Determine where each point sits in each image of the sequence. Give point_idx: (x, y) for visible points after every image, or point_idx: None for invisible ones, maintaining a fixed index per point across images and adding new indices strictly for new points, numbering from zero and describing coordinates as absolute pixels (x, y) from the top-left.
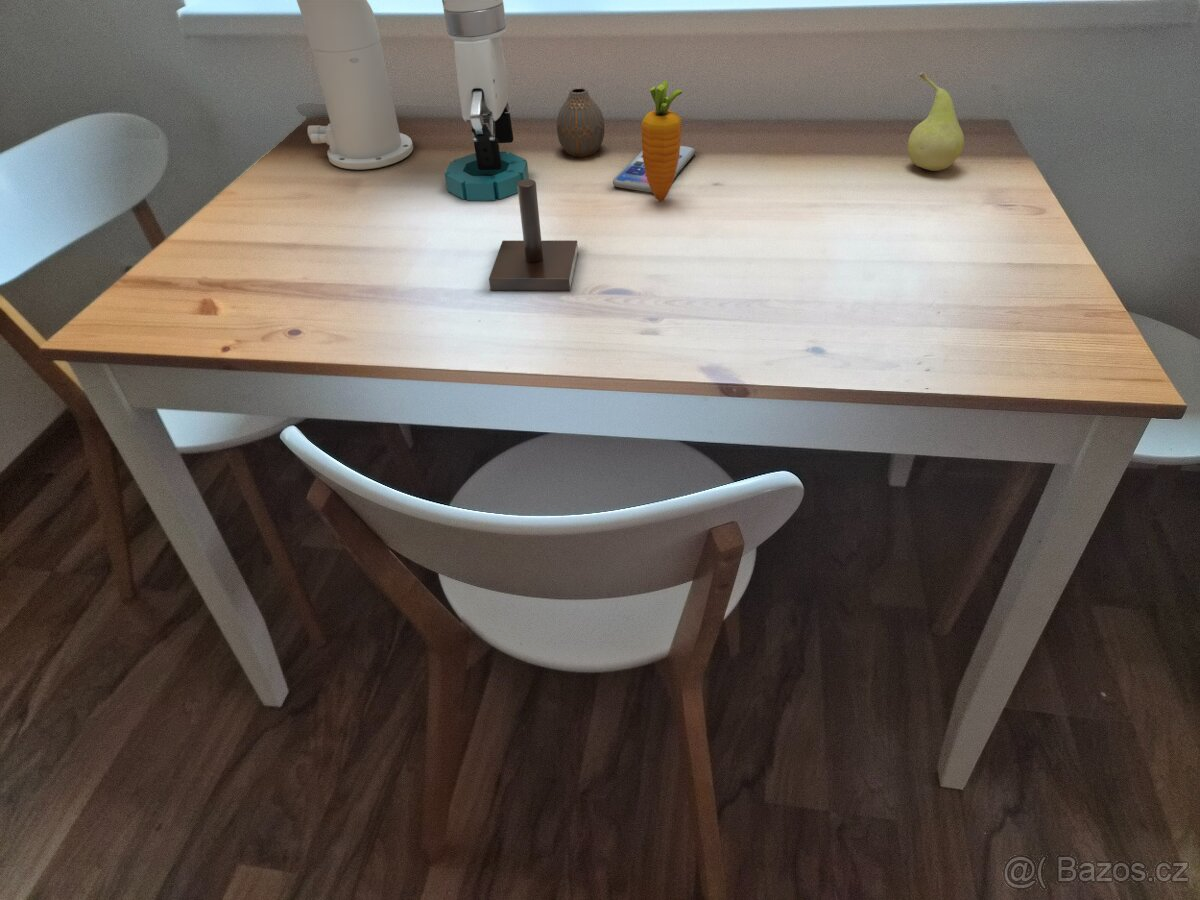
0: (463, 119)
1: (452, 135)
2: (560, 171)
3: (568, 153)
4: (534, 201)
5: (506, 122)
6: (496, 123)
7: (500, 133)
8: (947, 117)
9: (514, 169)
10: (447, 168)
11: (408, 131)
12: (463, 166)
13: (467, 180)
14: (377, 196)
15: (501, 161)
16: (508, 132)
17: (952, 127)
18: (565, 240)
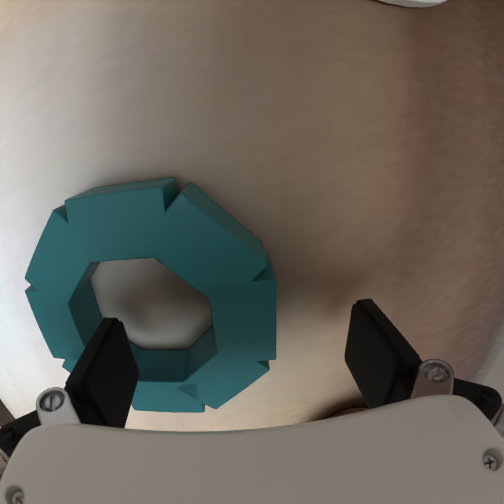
0: (36, 427)
1: (489, 116)
2: (250, 418)
3: (333, 416)
4: None
5: (369, 397)
6: (376, 367)
7: (360, 350)
8: None
9: (143, 396)
10: (97, 197)
11: (489, 15)
12: (124, 254)
13: (39, 295)
14: (58, 11)
15: (209, 354)
16: (355, 374)
17: None
18: (4, 422)
